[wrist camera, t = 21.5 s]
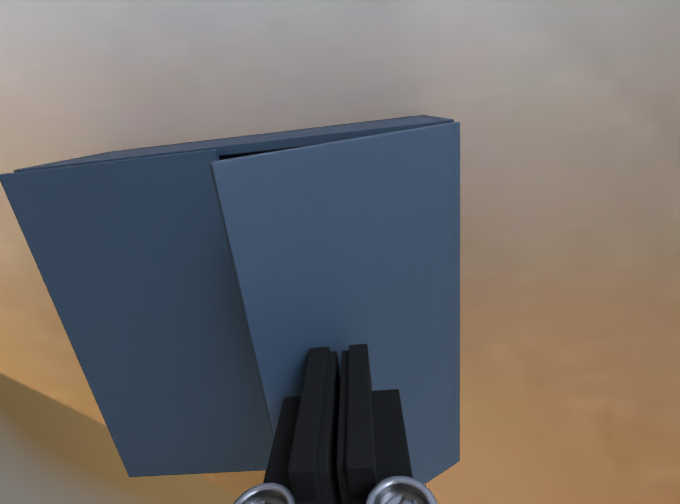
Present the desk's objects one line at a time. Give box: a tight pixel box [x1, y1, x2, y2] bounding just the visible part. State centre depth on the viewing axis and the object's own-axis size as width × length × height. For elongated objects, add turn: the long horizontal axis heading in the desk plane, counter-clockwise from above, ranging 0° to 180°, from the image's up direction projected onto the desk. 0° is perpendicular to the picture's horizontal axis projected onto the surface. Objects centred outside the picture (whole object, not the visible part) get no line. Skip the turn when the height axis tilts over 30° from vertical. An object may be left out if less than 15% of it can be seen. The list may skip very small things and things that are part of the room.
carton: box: [0, 115, 454, 477], centre depth 17 cm, size 14×15×6 cm
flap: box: [209, 122, 460, 484], centre depth 12 cm, size 14×7×1 cm, turn 6°
